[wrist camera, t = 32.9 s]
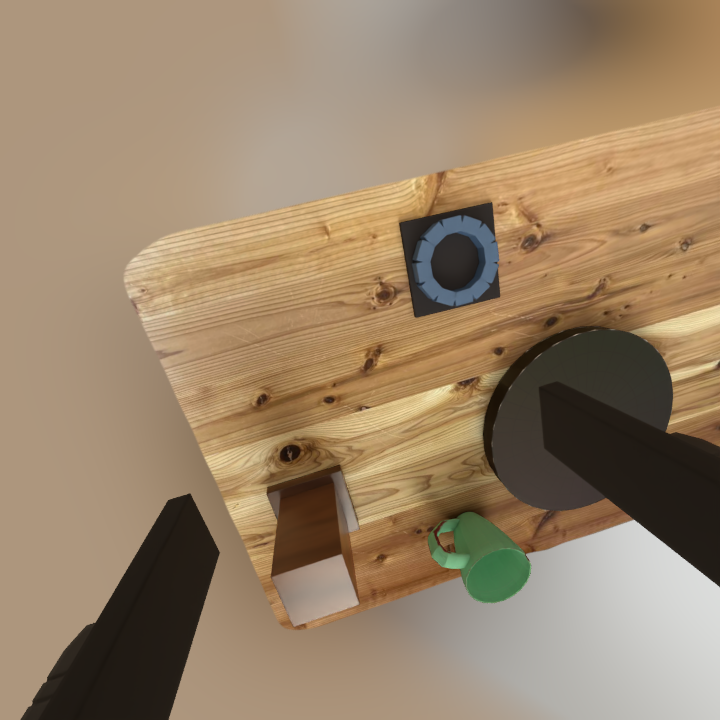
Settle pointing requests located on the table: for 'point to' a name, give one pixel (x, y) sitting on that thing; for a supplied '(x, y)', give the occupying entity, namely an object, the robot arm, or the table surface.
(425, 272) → the ring
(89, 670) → the robot arm
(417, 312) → the mat
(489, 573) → the mug
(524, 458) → the disc
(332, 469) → the stand
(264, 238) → the table surface
